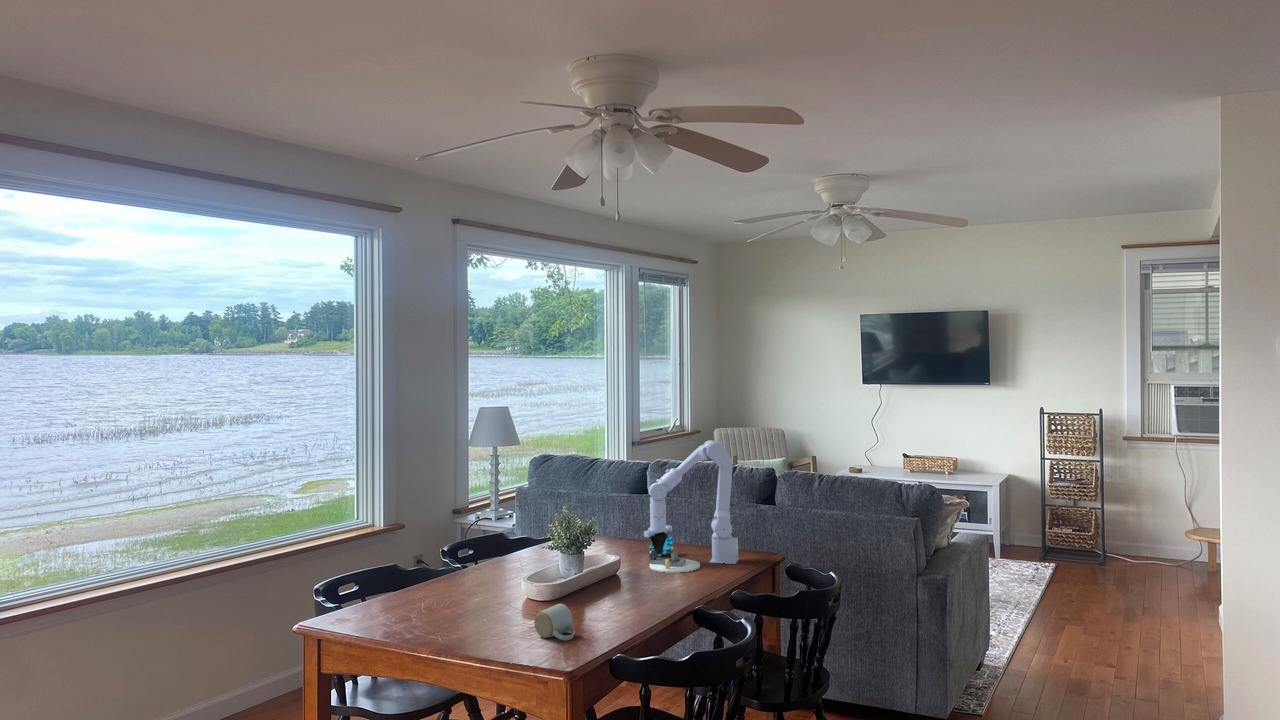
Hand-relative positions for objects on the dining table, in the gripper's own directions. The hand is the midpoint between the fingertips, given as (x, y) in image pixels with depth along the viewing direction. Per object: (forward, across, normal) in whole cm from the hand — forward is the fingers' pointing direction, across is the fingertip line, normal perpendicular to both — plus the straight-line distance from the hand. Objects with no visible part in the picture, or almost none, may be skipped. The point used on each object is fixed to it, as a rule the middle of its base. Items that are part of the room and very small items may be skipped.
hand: (658, 553), depth 316 cm
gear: (+4, -12, -8) cm, 15 cm away
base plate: (+4, +1, +8) cm, 9 cm away
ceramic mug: (+4, +83, +28) cm, 88 cm away
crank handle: (+2, +2, +5) cm, 6 cm away
